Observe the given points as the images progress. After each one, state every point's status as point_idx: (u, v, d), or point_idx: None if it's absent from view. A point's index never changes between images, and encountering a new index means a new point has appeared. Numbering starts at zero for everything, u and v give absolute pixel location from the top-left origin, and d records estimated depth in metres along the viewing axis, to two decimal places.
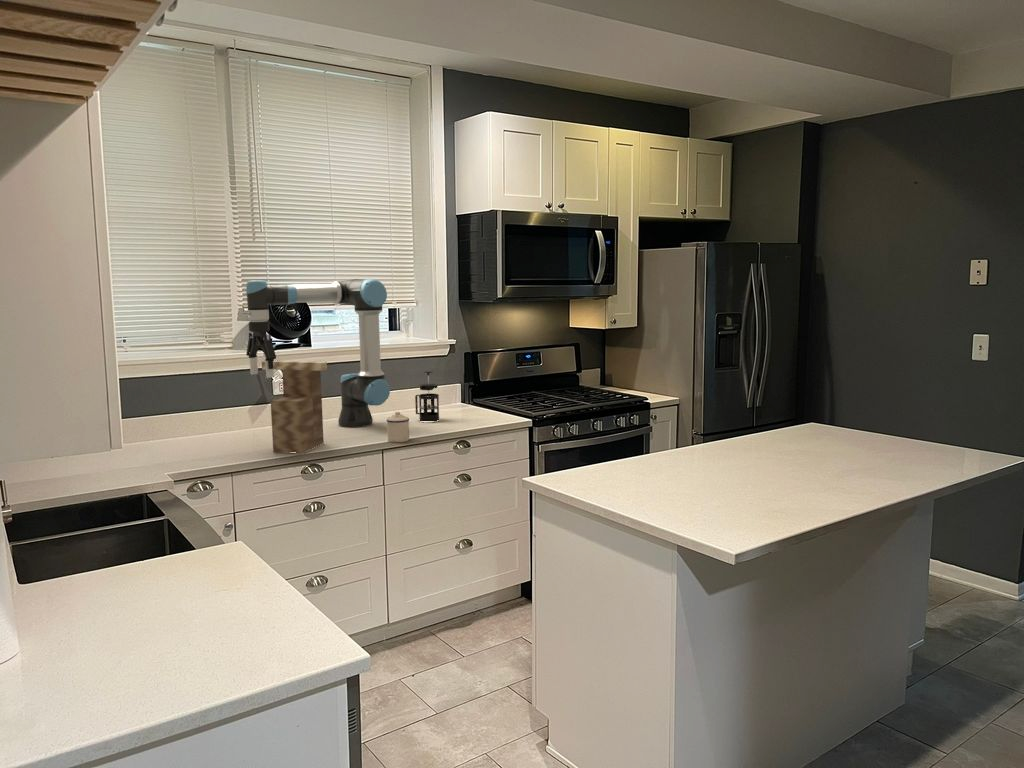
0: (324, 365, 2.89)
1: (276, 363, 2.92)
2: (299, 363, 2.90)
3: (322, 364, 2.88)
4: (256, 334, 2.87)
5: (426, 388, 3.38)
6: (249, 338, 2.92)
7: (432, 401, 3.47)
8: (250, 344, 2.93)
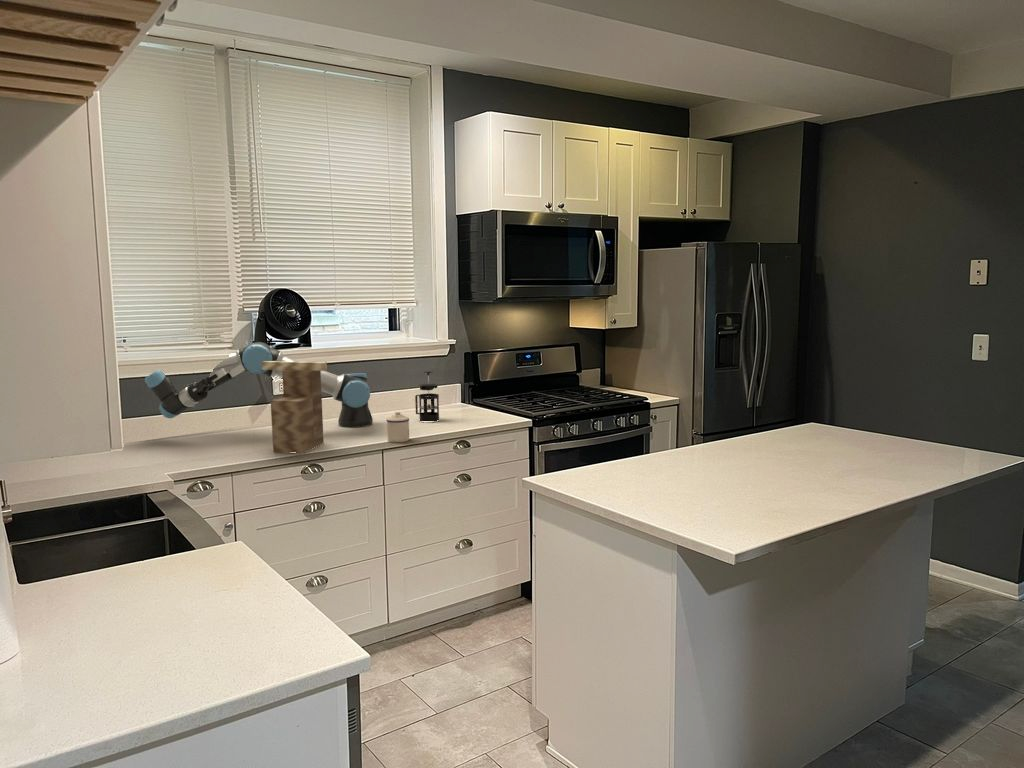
0: (324, 365, 2.89)
1: (276, 363, 2.92)
2: (299, 363, 2.90)
3: (322, 364, 2.88)
4: None
5: (426, 388, 3.38)
6: (217, 386, 3.07)
7: (432, 401, 3.47)
8: None
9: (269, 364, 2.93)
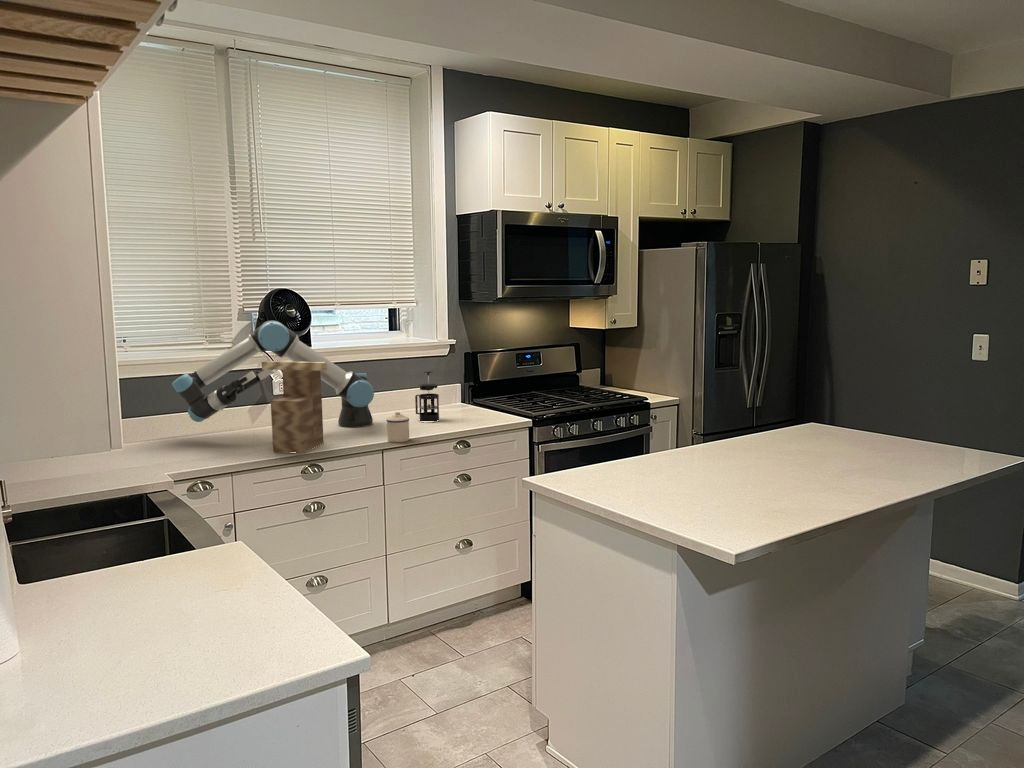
0: (324, 365, 2.89)
1: (276, 363, 2.92)
2: (299, 363, 2.90)
3: (322, 364, 2.88)
4: None
5: (426, 388, 3.38)
6: None
7: (432, 401, 3.47)
8: (250, 385, 3.04)
9: (269, 364, 2.93)
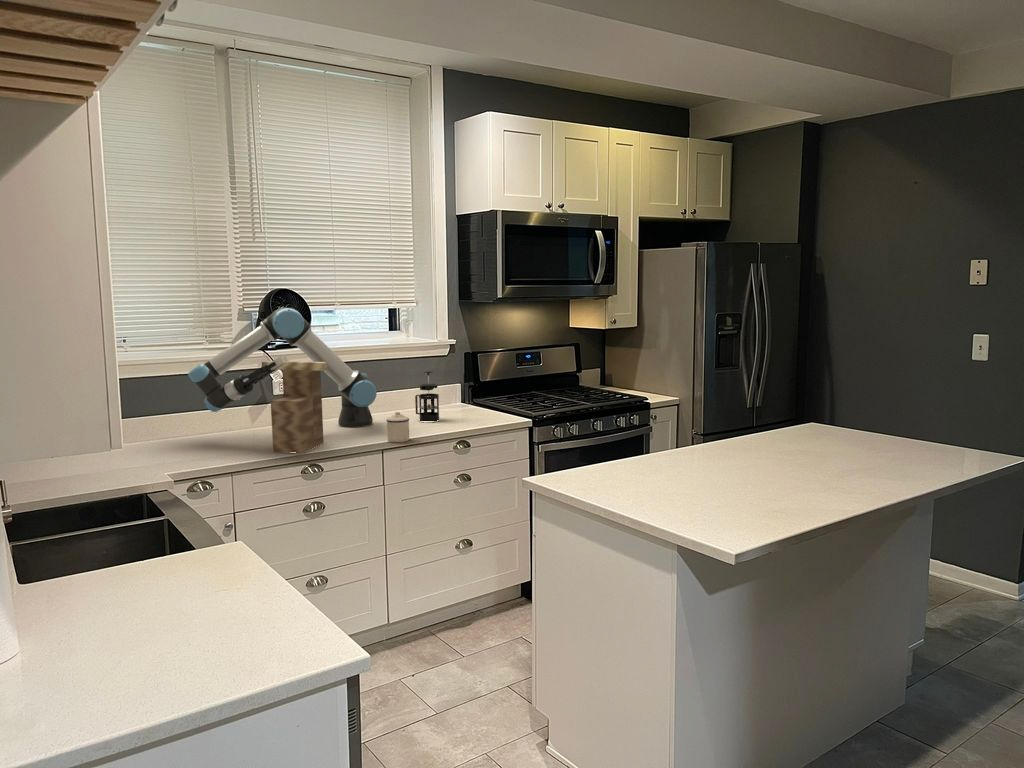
0: (324, 365, 2.89)
1: None
2: (299, 363, 2.90)
3: (322, 364, 2.88)
4: None
5: (426, 388, 3.38)
6: (264, 377, 3.02)
7: (432, 401, 3.47)
8: None
9: None
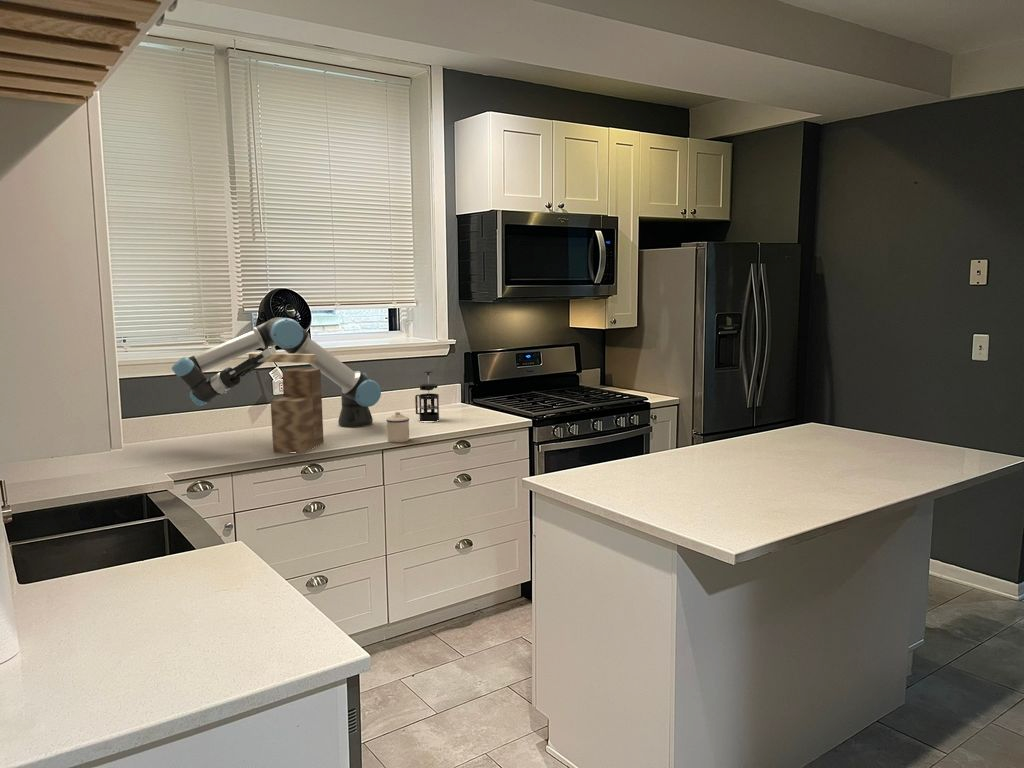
0: (313, 357, 2.80)
1: None
2: (287, 355, 2.81)
3: (311, 356, 2.79)
4: None
5: (426, 388, 3.38)
6: (251, 370, 2.92)
7: (432, 401, 3.47)
8: (254, 366, 2.91)
9: None
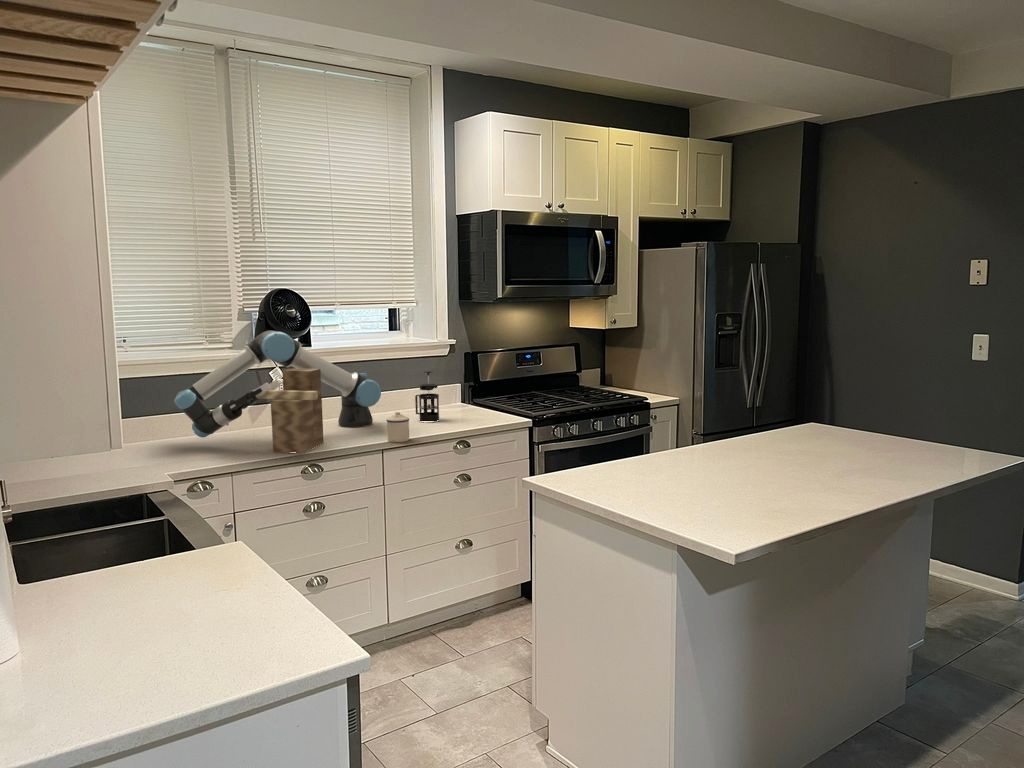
0: (315, 394, 2.82)
1: (265, 392, 2.85)
2: (289, 392, 2.83)
3: (312, 393, 2.81)
4: None
5: (426, 388, 3.38)
6: (253, 402, 2.95)
7: (432, 401, 3.47)
8: (256, 398, 2.94)
9: None
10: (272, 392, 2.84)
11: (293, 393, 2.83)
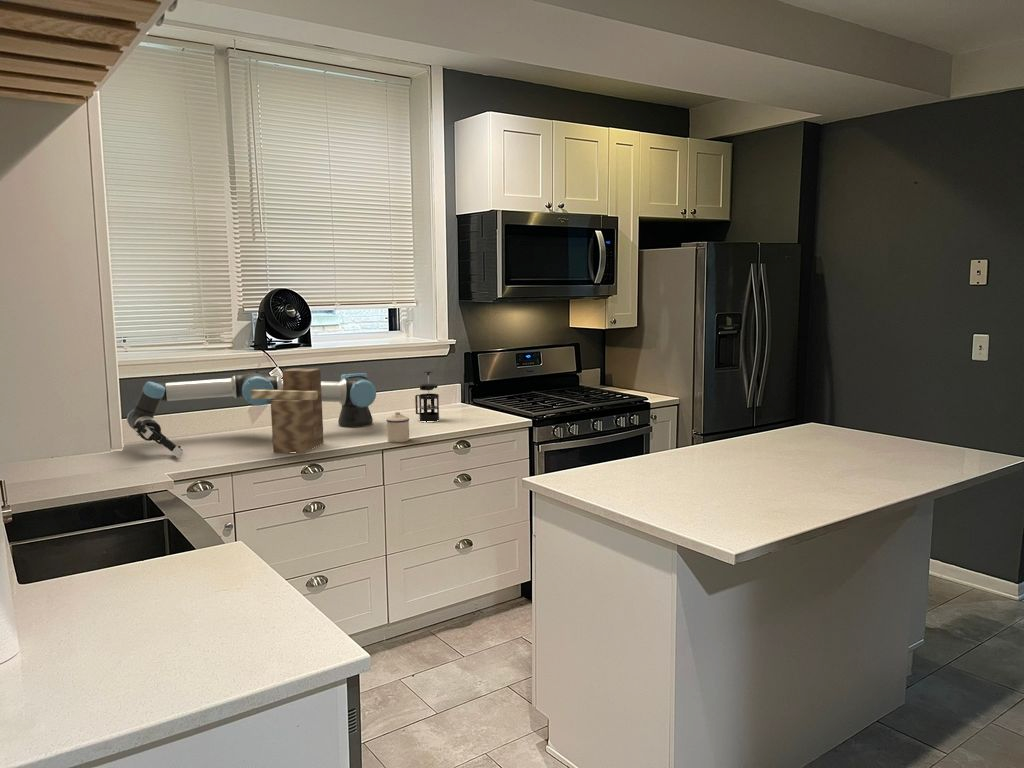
0: (315, 394, 2.82)
1: (265, 392, 2.85)
2: (289, 392, 2.83)
3: (312, 393, 2.81)
4: None
5: (426, 388, 3.38)
6: None
7: (432, 401, 3.47)
8: None
9: (259, 392, 2.85)
10: (272, 392, 2.84)
11: (293, 393, 2.83)
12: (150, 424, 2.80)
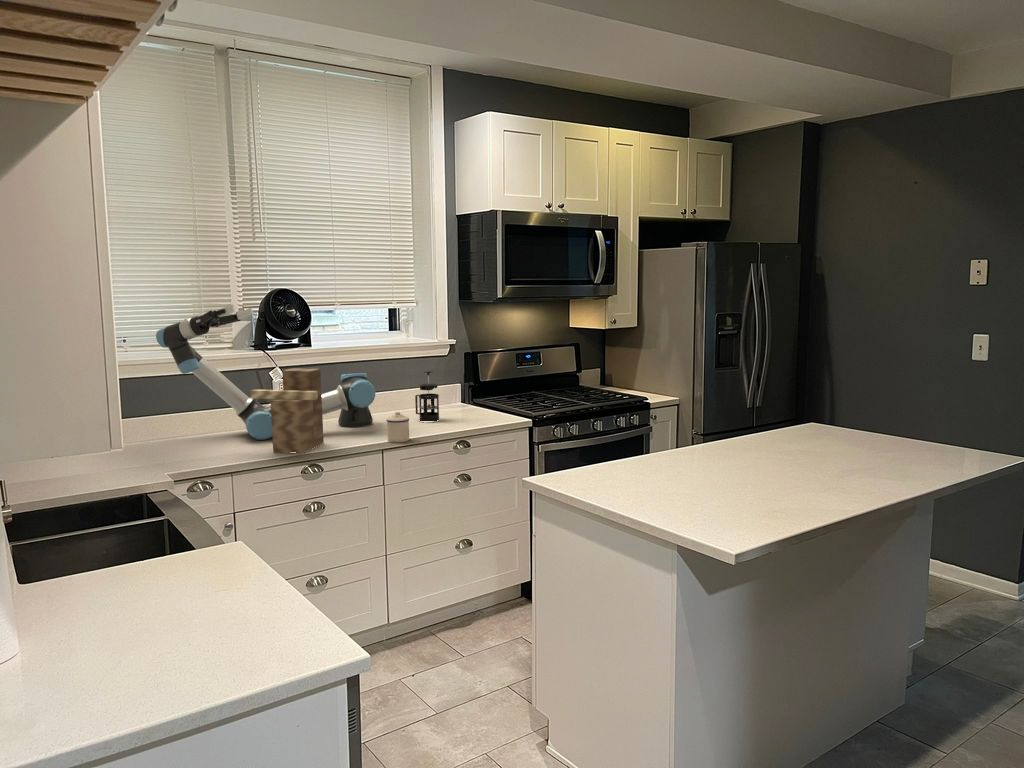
0: (315, 394, 2.82)
1: (265, 392, 2.85)
2: (289, 392, 2.83)
3: (312, 393, 2.81)
4: None
5: (426, 388, 3.38)
6: (200, 317, 2.83)
7: (432, 401, 3.47)
8: None
9: (259, 392, 2.85)
10: (272, 392, 2.84)
11: (293, 393, 2.83)
12: (208, 329, 2.92)
